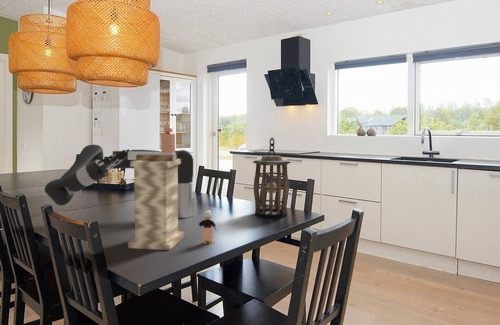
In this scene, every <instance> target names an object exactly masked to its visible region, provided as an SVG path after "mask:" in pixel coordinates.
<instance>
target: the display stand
mask: <svg viewBox="0 0 500 325" xmlns="http://www.w3.org/2000/svg"><path fill="white" fill-rule="evenodd" d="M179 164H181V159H177V155H176V160H175V161H173V156H171V155H136V160H135V161H130V167H134V168H133V169H134V170H133V172H134V175H133V176H134V177H133V178H134V180H133V182H134V183H133V184H134V186H133V187H134V238H132V239H131V240H130V241H129V242H127V249H138V250H140V249H141V250H159V251H161V250H162V251H170V250H172V249H173V248H174V247H175V246H176V245H177V244H178V243H179V242H180V241H181V240H182V239H183V238H184V237H185V231H183V230H181V231H180V230H179V218H178V165H179Z"/></svg>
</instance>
